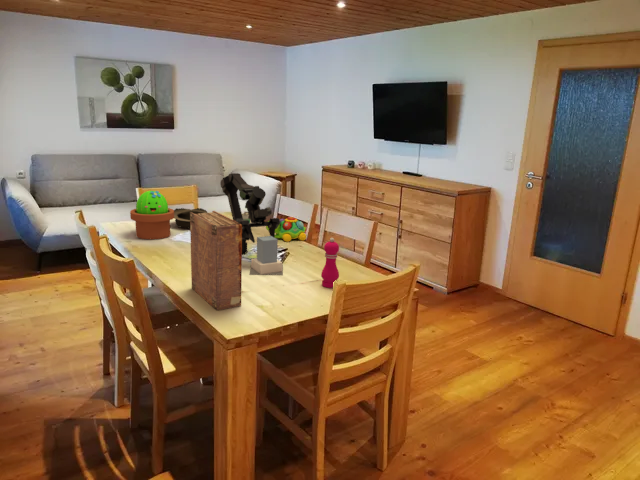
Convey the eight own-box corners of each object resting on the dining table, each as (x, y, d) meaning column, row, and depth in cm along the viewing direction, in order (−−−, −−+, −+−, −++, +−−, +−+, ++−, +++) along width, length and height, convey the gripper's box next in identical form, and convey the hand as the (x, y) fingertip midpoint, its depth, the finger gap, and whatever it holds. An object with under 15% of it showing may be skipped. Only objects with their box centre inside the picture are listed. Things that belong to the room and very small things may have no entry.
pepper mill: (320, 282, 200) (322, 235, 195) (337, 282, 201) (340, 235, 196) (321, 288, 193) (323, 240, 188) (339, 288, 194) (342, 240, 189)
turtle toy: (261, 236, 270) (261, 215, 267) (299, 233, 280) (300, 213, 277) (271, 243, 255) (271, 222, 252) (311, 240, 265) (312, 220, 262)
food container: (247, 233, 274) (247, 216, 271) (236, 232, 275) (237, 215, 272) (254, 228, 286) (254, 212, 283) (244, 227, 287) (244, 211, 284)
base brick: (251, 267, 212) (251, 258, 211) (272, 264, 217) (272, 256, 216) (260, 274, 203) (260, 265, 202) (282, 271, 208) (282, 262, 207)
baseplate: (249, 277, 202) (249, 274, 202) (251, 266, 217) (251, 263, 217) (282, 277, 204) (282, 275, 203) (282, 266, 218) (282, 264, 218)
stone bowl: (179, 219, 299) (180, 205, 296) (218, 225, 296) (219, 211, 294) (161, 227, 275) (162, 212, 272) (203, 234, 272) (204, 218, 270)
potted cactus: (131, 231, 265) (128, 186, 259) (172, 230, 274) (171, 186, 267) (132, 242, 246) (129, 193, 240) (176, 239, 254) (175, 192, 248)
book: (191, 288, 187) (189, 212, 180) (214, 284, 192) (213, 210, 185) (217, 311, 167) (216, 226, 159) (241, 306, 172) (242, 224, 164)
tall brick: (256, 259, 210) (257, 237, 207) (270, 257, 213) (271, 235, 211) (262, 263, 205) (263, 240, 202) (277, 261, 208) (277, 239, 205)
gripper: (239, 202, 205) (249, 233, 199) (279, 200, 214) (289, 229, 208) (232, 216, 214) (241, 246, 207) (271, 213, 223) (281, 242, 217)
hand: (264, 241), depth 210 cm, fingers open, 9 cm apart
